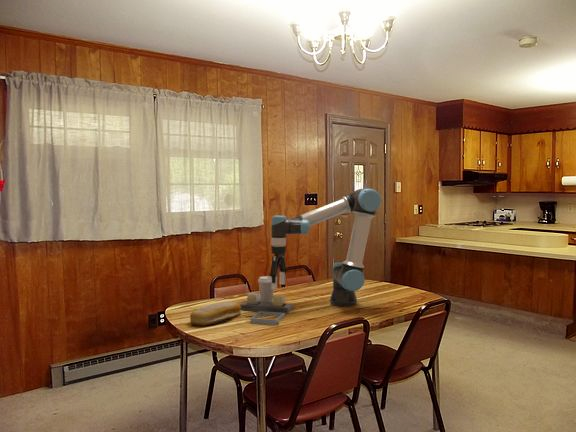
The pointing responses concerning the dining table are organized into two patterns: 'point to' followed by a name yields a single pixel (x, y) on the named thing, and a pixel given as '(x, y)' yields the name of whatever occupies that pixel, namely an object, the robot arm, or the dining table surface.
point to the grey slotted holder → (266, 307)
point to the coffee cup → (265, 289)
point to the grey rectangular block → (253, 298)
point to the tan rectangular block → (279, 300)
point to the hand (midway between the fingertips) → (278, 286)
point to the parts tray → (266, 321)
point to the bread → (215, 313)
